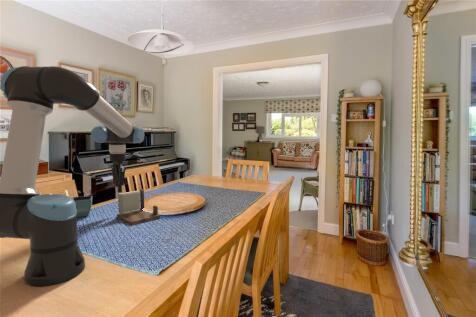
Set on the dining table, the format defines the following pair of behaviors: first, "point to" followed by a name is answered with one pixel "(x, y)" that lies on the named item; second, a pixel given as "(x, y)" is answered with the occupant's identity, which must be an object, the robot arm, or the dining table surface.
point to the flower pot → (83, 205)
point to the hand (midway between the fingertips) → (119, 198)
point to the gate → (129, 201)
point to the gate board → (139, 213)
